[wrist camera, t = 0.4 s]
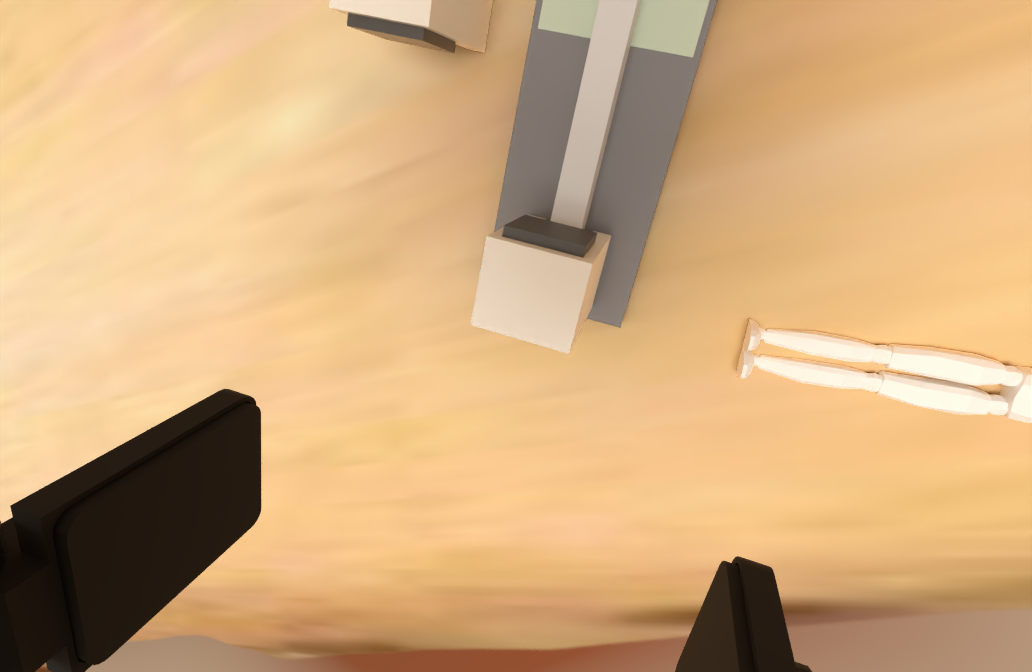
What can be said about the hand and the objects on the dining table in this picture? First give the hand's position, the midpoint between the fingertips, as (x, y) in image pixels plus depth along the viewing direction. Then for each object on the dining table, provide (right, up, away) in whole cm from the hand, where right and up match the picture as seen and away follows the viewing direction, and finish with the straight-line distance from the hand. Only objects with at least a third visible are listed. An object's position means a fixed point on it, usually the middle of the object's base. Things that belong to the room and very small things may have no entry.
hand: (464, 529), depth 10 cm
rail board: (+6, +17, +24) cm, 30 cm away
